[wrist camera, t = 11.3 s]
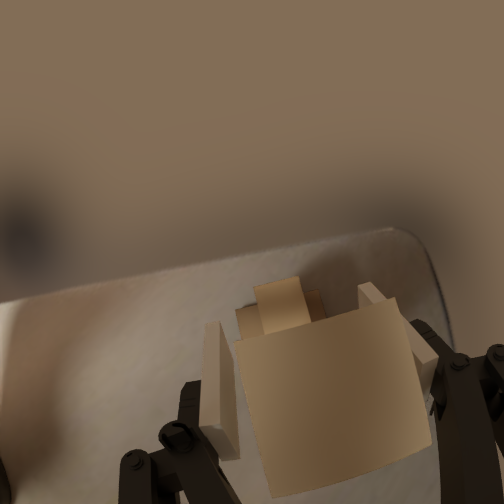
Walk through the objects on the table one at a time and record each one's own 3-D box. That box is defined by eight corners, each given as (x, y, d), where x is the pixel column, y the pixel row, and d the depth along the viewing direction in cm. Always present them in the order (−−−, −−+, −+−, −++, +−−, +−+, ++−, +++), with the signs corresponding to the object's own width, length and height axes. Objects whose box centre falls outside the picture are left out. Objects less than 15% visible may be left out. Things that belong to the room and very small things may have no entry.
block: (278, 422, 18) (271, 498, 6) (264, 363, 20) (233, 341, 7) (340, 405, 18) (432, 444, 6) (325, 347, 20) (394, 296, 7)
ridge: (357, 446, 22) (377, 463, 16) (273, 468, 22) (271, 493, 16) (316, 291, 29) (325, 268, 23) (236, 312, 28) (224, 293, 23)
